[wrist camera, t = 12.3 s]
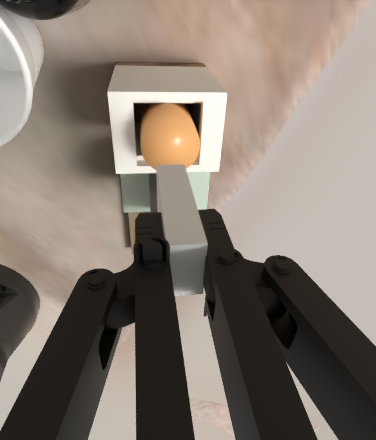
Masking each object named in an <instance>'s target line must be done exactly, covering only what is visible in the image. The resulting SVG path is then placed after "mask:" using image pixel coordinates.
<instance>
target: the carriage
mask: <svg viewBox="0 0 376 440" xmlns="http://www.w3.org/2000/svg"><path fill="white" fill-rule="evenodd" d="M187 175H188V178H189V181H190V185H191V188H192V192H193V195H194V198H195V202H196V205H197V209H198V210H203V209H207V201H208V189H209V178H210V172H187ZM120 179H121V189H122V199H123V209H124V213H126V212H150V213H156V212H158V211H157V176H156V173H134V174H120Z"/></svg>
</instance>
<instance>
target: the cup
mask: <svg viewBox="0 0 376 440" xmlns="http://www.w3.org/2000/svg"><path fill="white" fill-rule="evenodd" d="M43 58H44V47H43V42H42V38H41V35H40V33H39V31H38V29H37V27H36V26H35V24H34V23H33V21H32V20H31V19H29V18H25V17H22V16H19V15H17V14H14V13H12V12H10V11H9V10H7V9H5V8H4V7H2V6H1V5H0V146H2V145H4V144H5V143H7V142H9V141H11V140H12V139H13V138H14V137H15V136H16V135H17V134H18V133H19V132H20V131H21V130H22V128H23V127H24V125H25V123H26V122H27V120H28V117H29V114H30V111H31V108H32V98H33V90H34V86H35V84H36V80H37V78H38V74H39V72H40V69H41V66H42V62H43Z"/></svg>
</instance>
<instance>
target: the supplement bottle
mask: <svg viewBox="0 0 376 440" xmlns="http://www.w3.org/2000/svg"><path fill="white" fill-rule="evenodd" d="M89 1H90V0H0V5H1V6H2V7H4V8H5V9H7V10H9V11H10V12H12V13H14V14H17V15H19V16H22V17H25V18H29V19H34V20H48V19H54V18H58V17H60V16H63V15H66V14H68V13H71V12H73V11H76V10H78V9H80V8H82V7H83V6H85V5H86V4H87V3H88V2H89Z"/></svg>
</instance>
